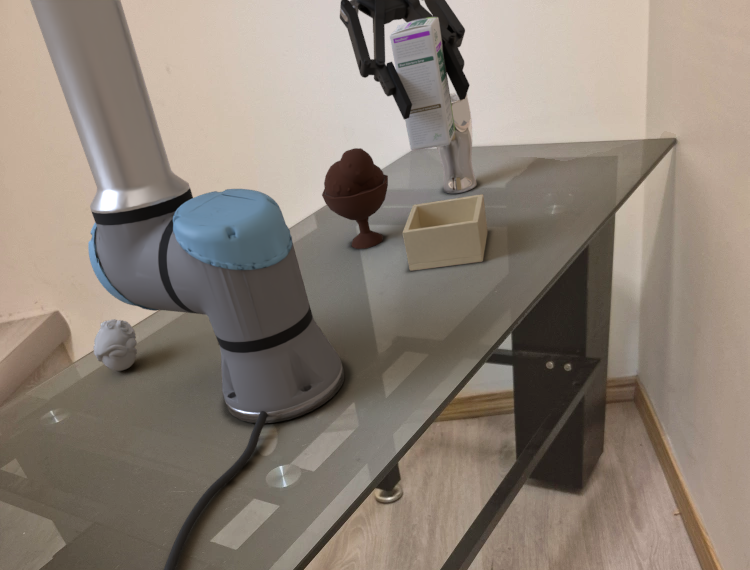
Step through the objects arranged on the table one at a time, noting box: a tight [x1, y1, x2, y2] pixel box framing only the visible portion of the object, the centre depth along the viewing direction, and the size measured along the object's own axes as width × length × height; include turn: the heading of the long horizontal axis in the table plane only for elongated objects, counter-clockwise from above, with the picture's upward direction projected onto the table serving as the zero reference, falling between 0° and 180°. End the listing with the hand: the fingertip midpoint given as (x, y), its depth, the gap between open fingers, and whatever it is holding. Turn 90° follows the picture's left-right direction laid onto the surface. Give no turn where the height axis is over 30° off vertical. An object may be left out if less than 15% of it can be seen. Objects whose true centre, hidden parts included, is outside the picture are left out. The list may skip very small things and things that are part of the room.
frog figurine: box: [93, 318, 138, 372], centre depth 105 cm, size 6×7×7 cm
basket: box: [402, 193, 488, 272], centre depth 113 cm, size 11×11×6 cm
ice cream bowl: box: [321, 147, 389, 250], centre depth 120 cm, size 11×11×15 cm
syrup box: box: [389, 17, 455, 151], centre depth 99 cm, size 6×6×14 cm
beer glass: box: [436, 92, 478, 194], centre depth 131 cm, size 7×7×15 cm
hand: (436, 102), depth 98 cm, fingers closed on syrup box, 8 cm apart
